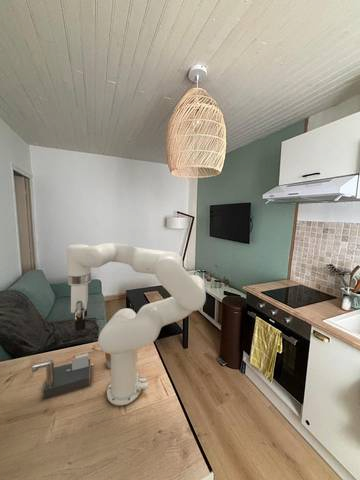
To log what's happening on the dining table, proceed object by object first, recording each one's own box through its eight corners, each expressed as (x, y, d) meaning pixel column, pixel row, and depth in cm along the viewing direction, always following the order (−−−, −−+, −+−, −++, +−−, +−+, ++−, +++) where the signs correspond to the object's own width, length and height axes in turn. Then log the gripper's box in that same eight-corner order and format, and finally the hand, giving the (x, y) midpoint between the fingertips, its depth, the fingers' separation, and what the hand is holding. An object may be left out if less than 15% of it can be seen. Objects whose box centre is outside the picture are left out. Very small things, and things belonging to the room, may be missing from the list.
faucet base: (94, 365, 86) (94, 357, 86) (94, 384, 76) (93, 376, 76) (50, 376, 80) (50, 367, 80) (43, 398, 70) (43, 389, 70)
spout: (55, 380, 74) (54, 357, 73) (54, 385, 72) (52, 362, 70) (34, 386, 71) (32, 362, 70) (32, 391, 69) (30, 367, 68)
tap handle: (88, 363, 82) (88, 352, 82) (88, 366, 81) (88, 354, 80) (72, 367, 80) (72, 356, 79) (72, 370, 78) (71, 358, 78)
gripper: (71, 273, 77) (72, 313, 79) (64, 287, 61) (66, 338, 63) (91, 271, 80) (93, 310, 82) (90, 284, 64) (91, 333, 66)
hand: (81, 322), depth 72 cm, fingers open, 9 cm apart
